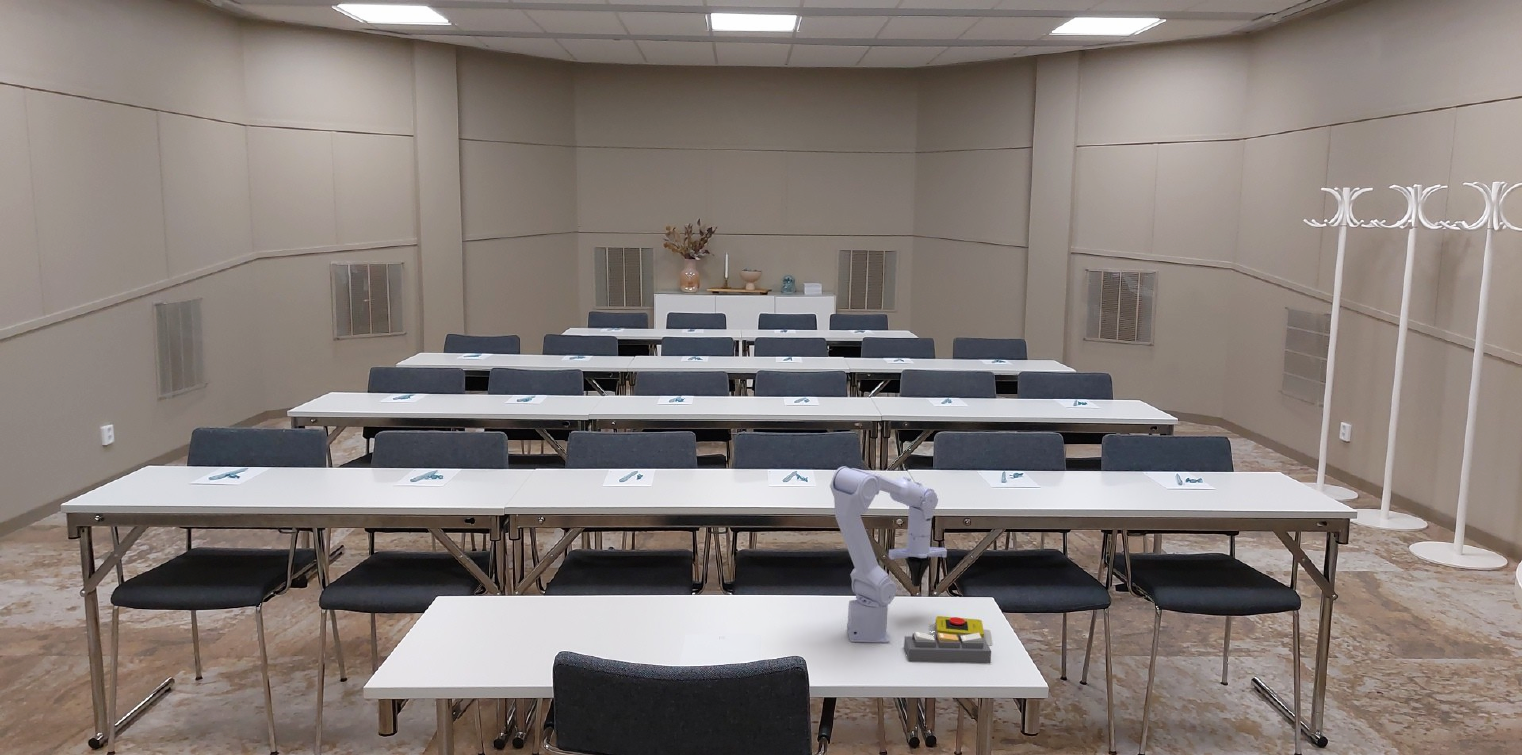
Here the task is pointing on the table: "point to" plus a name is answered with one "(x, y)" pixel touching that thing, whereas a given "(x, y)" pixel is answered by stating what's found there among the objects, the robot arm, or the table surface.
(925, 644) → the switch strip
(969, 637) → the rocker right
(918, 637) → the rocker left
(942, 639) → the rocker amber
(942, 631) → the emergency button
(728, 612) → the table surface
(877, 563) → the robot arm
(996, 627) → the table surface
